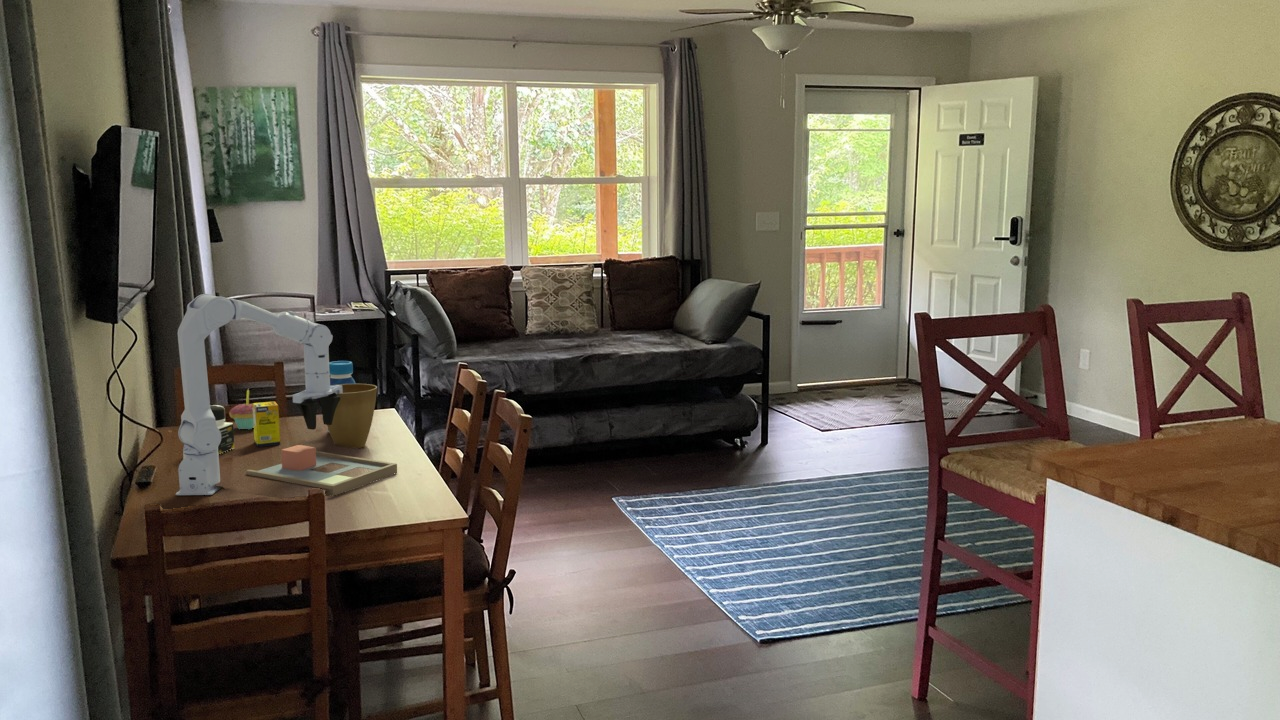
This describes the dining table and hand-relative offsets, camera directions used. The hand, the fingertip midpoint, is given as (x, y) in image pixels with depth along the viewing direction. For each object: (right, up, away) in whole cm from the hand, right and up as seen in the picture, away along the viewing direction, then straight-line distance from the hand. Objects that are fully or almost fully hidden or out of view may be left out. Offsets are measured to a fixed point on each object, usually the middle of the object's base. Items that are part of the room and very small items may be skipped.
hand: (319, 426), depth 236 cm
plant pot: (+1, -7, +21) cm, 22 cm away
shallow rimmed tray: (+3, -11, -8) cm, 14 cm away
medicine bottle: (-32, -8, +15) cm, 36 cm away
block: (-3, -9, -5) cm, 11 cm away
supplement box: (-22, -6, +23) cm, 33 cm away
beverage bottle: (-6, -4, +37) cm, 38 cm away
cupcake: (-35, -3, +41) cm, 54 cm away
